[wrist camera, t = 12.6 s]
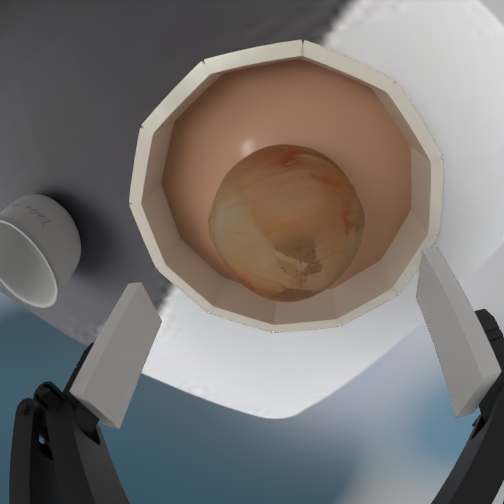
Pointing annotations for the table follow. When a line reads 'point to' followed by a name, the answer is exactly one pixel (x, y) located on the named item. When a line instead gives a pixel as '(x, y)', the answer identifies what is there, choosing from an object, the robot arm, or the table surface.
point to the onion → (286, 222)
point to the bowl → (292, 133)
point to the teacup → (37, 249)
